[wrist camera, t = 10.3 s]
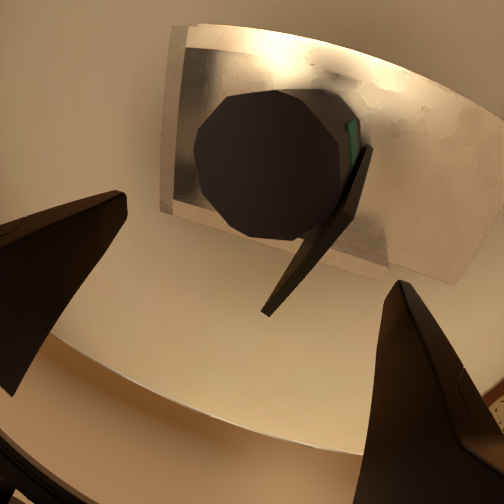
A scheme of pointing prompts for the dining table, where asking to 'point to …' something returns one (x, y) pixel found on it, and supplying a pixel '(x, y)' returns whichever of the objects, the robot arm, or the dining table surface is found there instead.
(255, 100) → the speaker
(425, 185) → the beige shallow tray
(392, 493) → the robot arm
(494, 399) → the food container
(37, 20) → the dining table surface
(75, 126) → the dining table surface
